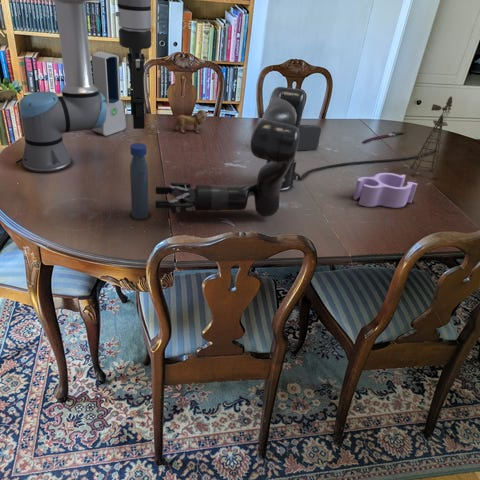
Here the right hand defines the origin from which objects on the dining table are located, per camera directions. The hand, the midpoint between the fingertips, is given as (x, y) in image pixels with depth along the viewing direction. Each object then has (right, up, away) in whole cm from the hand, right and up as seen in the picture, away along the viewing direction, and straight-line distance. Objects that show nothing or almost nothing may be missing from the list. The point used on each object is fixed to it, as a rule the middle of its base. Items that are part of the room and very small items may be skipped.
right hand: (155, 197), depth 134 cm
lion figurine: (+3, +34, +65) cm, 73 cm away
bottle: (-5, -5, +3) cm, 8 cm away
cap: (-3, +13, -9) cm, 16 cm away
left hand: (-2, +19, -13) cm, 23 cm away
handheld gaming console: (+45, +25, +57) cm, 77 cm away
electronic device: (-29, +32, +56) cm, 71 cm away
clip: (+73, +2, +26) cm, 77 cm away
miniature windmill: (+96, +14, +49) cm, 109 cm away
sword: (+91, +34, +80) cm, 126 cm away
